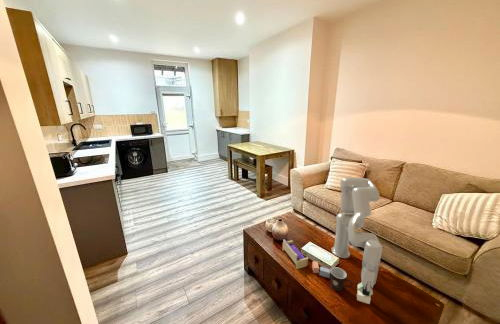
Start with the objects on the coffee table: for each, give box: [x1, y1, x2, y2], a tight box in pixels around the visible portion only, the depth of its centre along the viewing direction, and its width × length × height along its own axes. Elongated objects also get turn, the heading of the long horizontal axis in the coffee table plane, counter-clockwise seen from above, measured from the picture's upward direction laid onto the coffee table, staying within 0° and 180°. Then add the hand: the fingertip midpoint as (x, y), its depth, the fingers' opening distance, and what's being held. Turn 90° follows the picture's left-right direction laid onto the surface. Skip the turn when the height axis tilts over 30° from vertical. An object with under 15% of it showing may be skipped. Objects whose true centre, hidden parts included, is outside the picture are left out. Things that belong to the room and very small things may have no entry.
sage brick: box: [357, 281, 374, 298], centre depth 110 cm, size 6×3×4 cm
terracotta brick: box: [311, 260, 320, 274], centre depth 133 cm, size 6×3×4 cm, turn 171°
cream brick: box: [356, 289, 372, 305], centre depth 112 cm, size 6×3×4 cm, turn 66°
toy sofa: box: [281, 239, 309, 270], centre depth 142 cm, size 21×9×10 cm, turn 20°
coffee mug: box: [330, 266, 353, 292], centre depth 118 cm, size 12×9×10 cm
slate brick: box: [318, 266, 331, 279], centre depth 128 cm, size 6×3×4 cm, turn 64°
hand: (365, 291), depth 110 cm, fingers closed on sage brick, 3 cm apart
